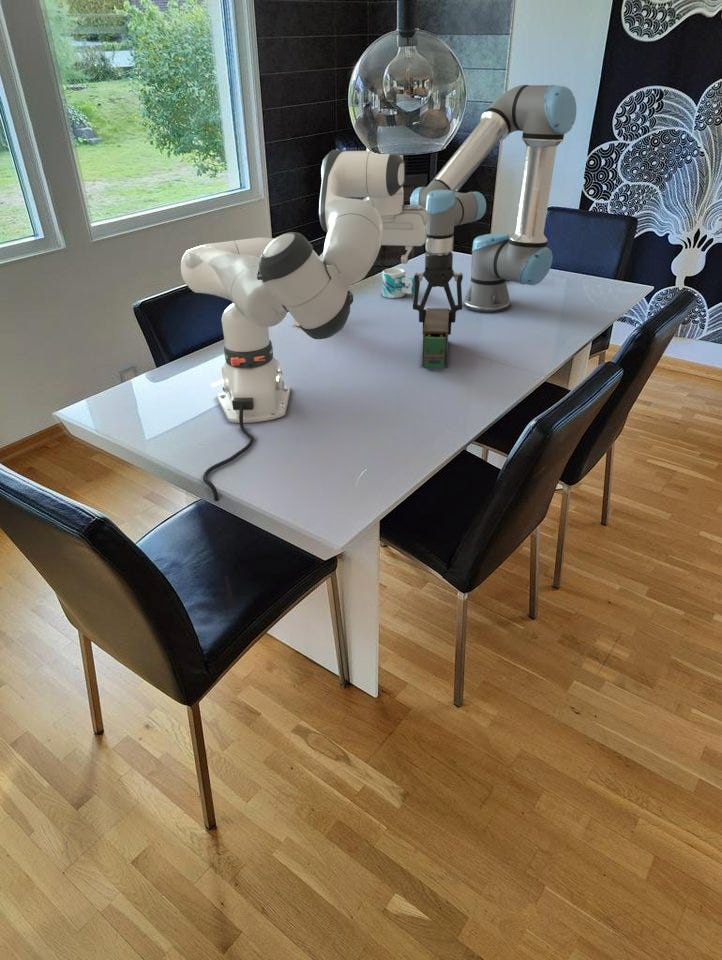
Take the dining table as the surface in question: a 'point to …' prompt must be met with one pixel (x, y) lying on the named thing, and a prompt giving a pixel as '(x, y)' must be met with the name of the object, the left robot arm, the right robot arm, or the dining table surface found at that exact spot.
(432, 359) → the drawer
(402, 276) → the mug
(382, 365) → the dining table surface
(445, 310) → the cabinet
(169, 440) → the dining table surface
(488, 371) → the dining table surface
